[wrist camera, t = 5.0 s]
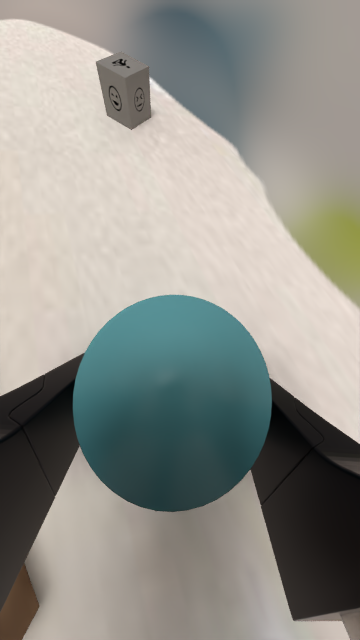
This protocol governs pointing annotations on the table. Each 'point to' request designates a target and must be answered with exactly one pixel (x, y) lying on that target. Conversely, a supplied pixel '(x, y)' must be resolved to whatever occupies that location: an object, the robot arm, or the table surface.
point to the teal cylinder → (172, 403)
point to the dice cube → (125, 89)
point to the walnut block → (18, 608)
